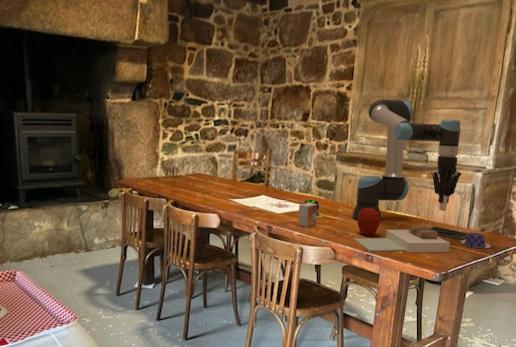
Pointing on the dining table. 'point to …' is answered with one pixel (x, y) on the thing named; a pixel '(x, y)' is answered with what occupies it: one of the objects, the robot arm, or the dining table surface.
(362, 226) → the dark red rounded piece
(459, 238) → the picture frame
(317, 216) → the toy cauldron
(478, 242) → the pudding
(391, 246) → the mat
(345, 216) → the dining table surface
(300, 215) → the small box
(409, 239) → the cream flat block
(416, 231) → the walnut block
